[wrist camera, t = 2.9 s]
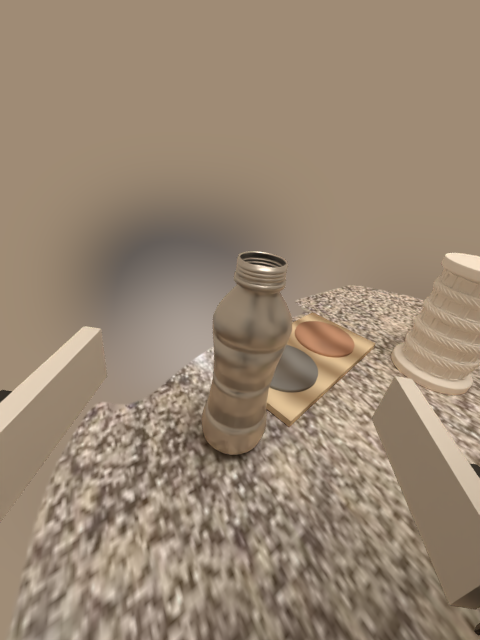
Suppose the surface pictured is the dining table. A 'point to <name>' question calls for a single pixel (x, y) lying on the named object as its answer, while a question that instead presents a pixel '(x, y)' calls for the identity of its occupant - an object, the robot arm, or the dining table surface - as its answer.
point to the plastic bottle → (246, 352)
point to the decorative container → (446, 330)
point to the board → (312, 365)
